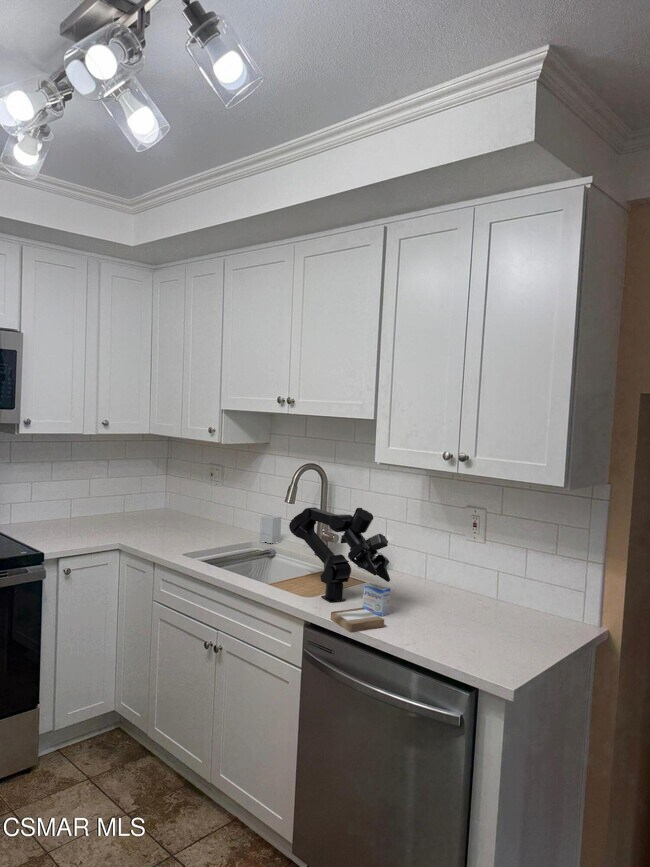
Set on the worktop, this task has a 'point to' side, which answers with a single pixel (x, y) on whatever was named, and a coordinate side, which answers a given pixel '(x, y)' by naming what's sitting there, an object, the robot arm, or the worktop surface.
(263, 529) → the supplement box
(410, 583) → the worktop surface
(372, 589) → the medicine box
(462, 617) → the worktop surface
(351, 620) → the brown open-top box
